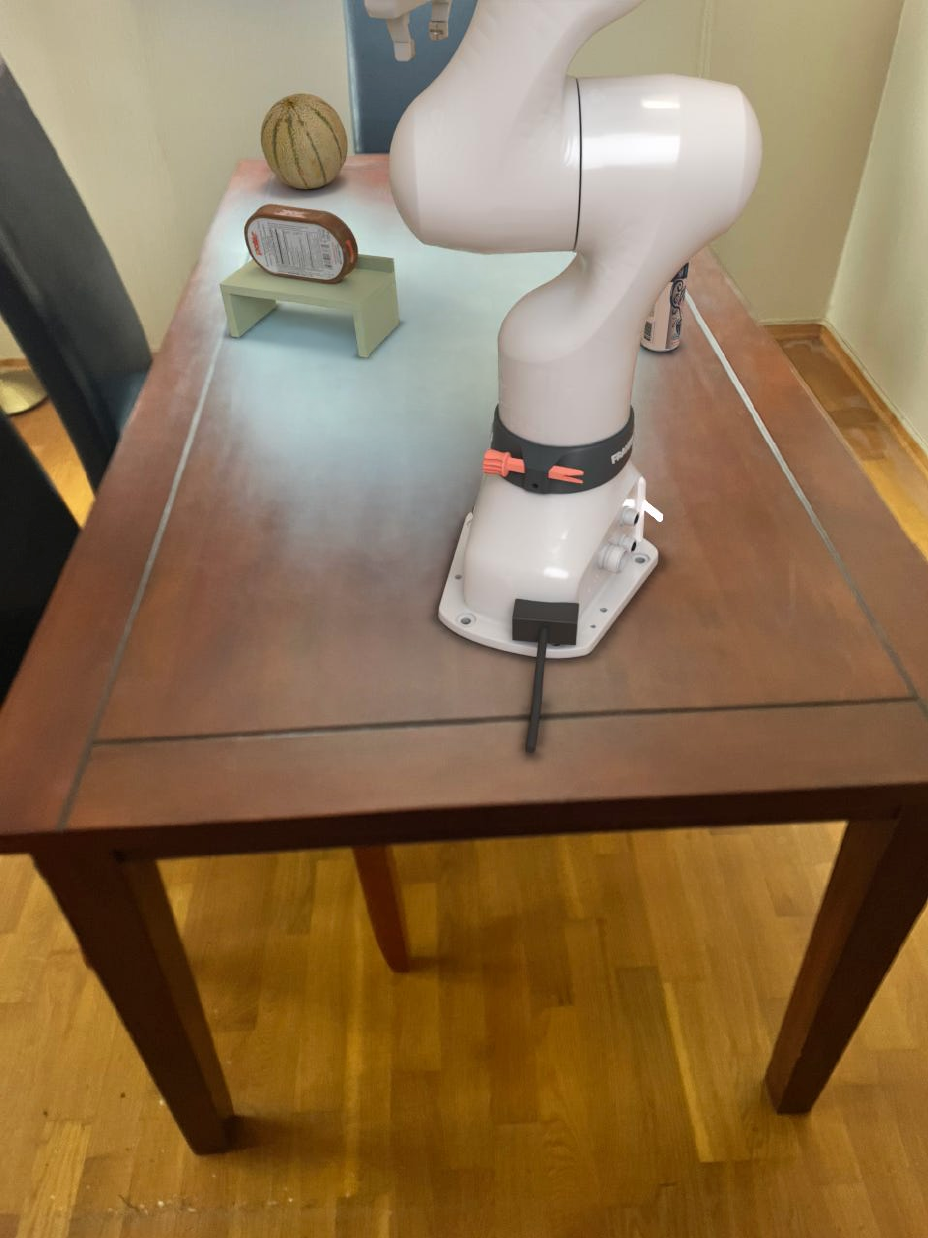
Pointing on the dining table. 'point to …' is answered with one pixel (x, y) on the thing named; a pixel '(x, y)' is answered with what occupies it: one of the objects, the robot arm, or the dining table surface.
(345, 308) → the shelf
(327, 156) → the cantaloupe
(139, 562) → the dining table surface
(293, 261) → the tin
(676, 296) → the beer can
